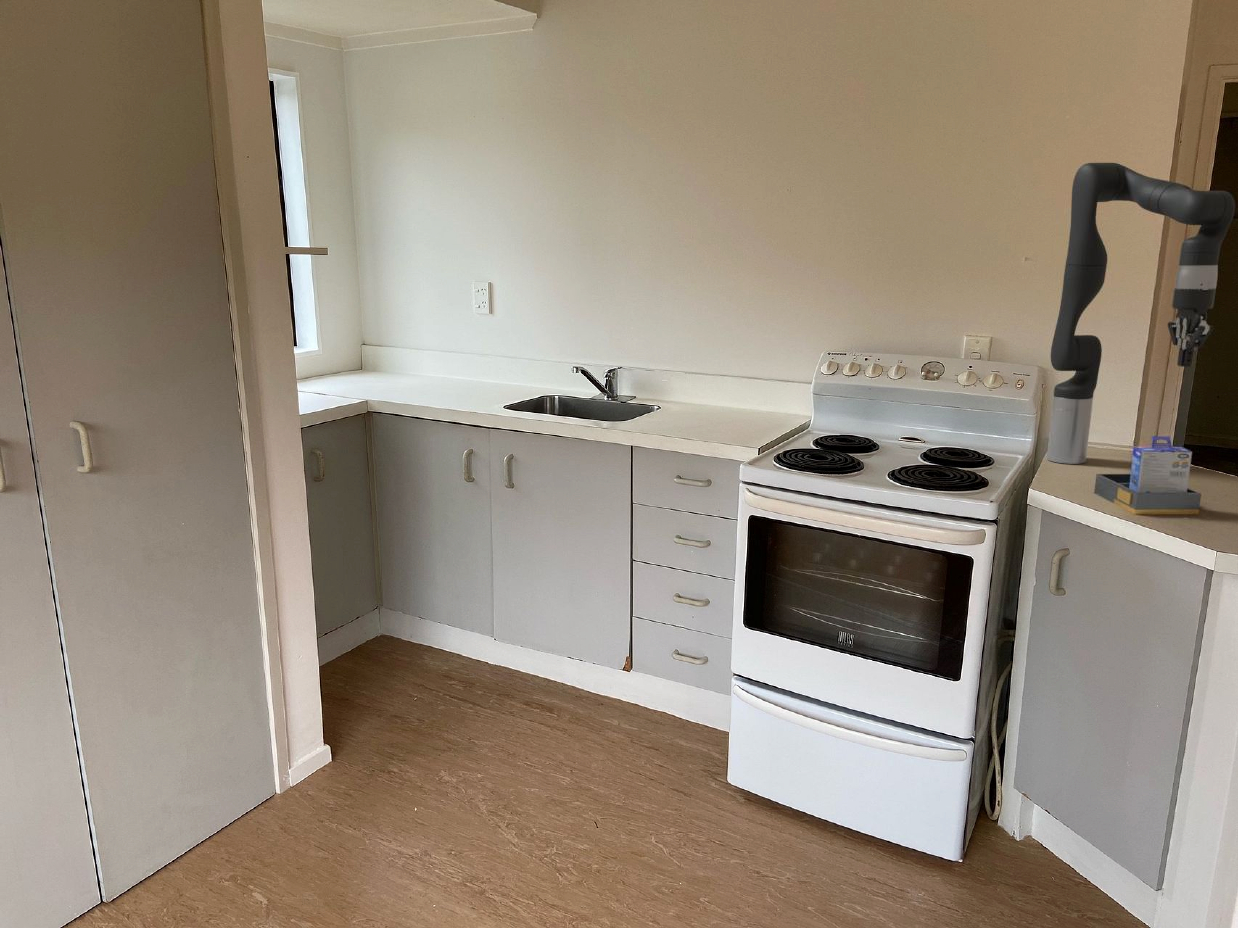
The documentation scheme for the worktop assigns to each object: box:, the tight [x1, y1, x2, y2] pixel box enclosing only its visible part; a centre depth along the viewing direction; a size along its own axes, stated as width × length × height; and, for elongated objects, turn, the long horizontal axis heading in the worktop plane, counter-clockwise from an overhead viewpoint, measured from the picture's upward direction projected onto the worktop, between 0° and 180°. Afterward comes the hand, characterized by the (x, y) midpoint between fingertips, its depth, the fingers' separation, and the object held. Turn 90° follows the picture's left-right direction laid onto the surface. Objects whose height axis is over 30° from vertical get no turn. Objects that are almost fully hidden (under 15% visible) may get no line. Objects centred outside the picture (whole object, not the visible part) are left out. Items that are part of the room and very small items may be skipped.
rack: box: [1093, 473, 1202, 515], centre depth 185 cm, size 17×13×4 cm
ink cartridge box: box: [1129, 435, 1193, 493], centre depth 180 cm, size 10×6×14 cm, turn 80°
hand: (1184, 366), depth 187 cm, fingers closed
